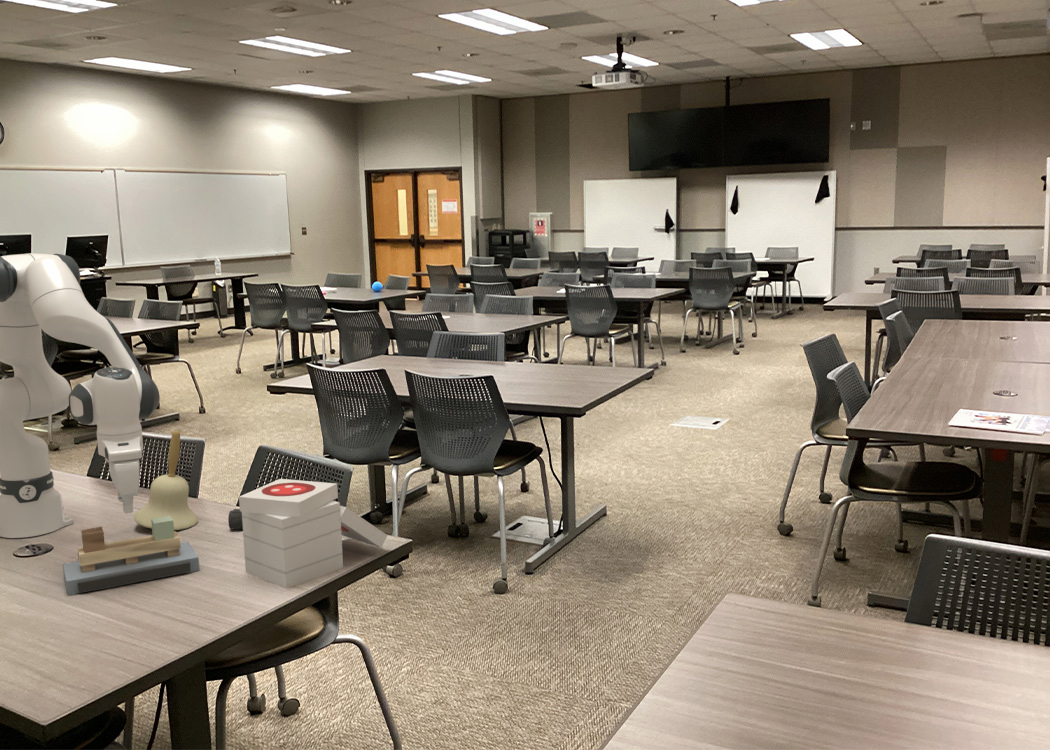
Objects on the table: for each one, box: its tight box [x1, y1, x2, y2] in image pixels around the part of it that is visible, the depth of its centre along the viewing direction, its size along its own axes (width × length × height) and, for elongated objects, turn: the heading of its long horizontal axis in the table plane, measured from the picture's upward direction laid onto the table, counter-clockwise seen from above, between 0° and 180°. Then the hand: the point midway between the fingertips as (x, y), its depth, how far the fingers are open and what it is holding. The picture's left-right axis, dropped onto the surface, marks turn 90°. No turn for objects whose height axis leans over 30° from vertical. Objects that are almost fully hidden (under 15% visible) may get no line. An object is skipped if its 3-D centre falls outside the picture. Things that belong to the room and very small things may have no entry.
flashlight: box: [227, 508, 243, 531], centre depth 228 cm, size 15×5×5 cm, turn 94°
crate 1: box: [80, 526, 106, 553], centre depth 194 cm, size 4×4×4 cm
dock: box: [62, 541, 200, 596], centre depth 198 cm, size 13×26×3 cm, turn 120°
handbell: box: [133, 430, 199, 531], centre depth 231 cm, size 15×15×25 cm
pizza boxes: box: [238, 478, 388, 589], centre depth 202 cm, size 19×30×18 cm, turn 140°
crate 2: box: [151, 516, 175, 541], centre depth 201 cm, size 4×4×4 cm
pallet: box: [77, 531, 181, 572], centre depth 198 cm, size 5×20×4 cm, turn 120°
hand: (125, 506), depth 197 cm, fingers open, 8 cm apart
